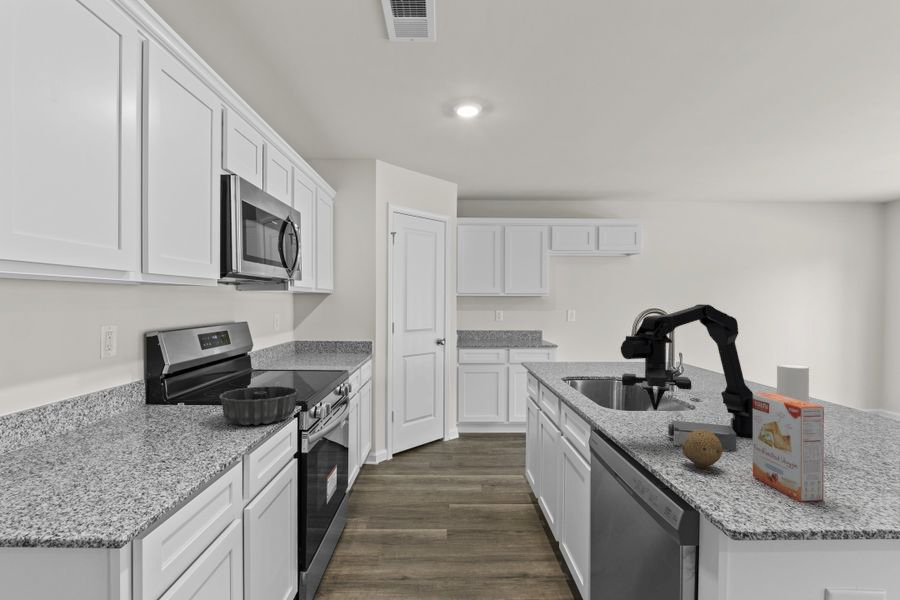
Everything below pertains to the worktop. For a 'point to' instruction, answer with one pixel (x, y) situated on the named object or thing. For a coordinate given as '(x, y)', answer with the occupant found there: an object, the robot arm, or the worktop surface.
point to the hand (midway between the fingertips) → (655, 409)
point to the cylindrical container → (793, 381)
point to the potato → (702, 448)
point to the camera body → (720, 431)
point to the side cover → (680, 437)
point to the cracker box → (789, 445)
